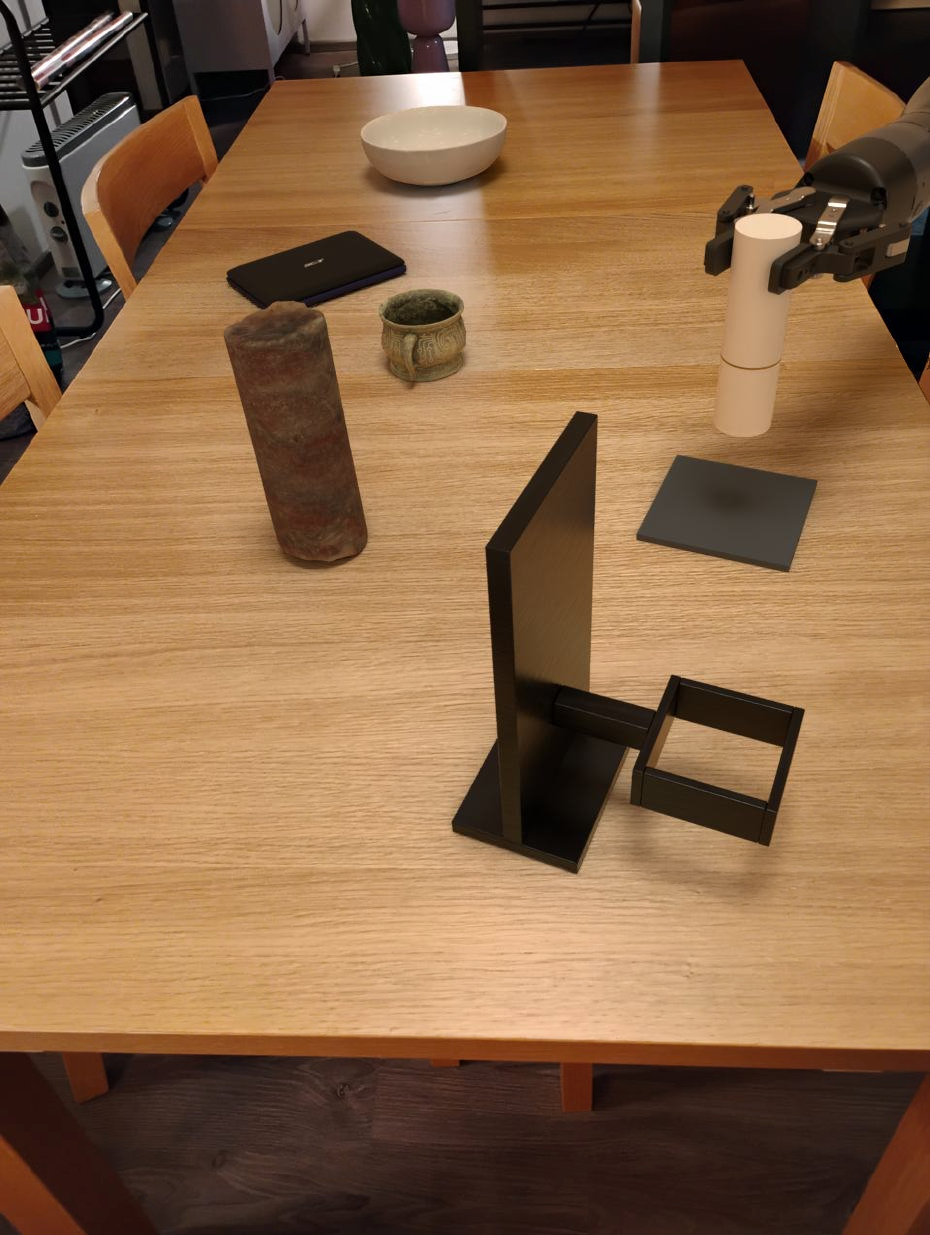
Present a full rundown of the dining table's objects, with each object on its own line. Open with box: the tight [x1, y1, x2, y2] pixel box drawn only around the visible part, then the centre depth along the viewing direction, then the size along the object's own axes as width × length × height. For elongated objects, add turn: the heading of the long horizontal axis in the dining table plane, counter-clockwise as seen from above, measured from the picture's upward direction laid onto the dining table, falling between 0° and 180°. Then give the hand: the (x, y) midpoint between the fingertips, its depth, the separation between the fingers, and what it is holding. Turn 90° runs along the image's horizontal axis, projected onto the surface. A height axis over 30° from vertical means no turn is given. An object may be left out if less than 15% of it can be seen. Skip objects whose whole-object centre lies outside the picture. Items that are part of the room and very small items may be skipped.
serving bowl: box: [359, 104, 508, 187], centre depth 142 cm, size 21×21×7 cm
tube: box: [712, 213, 802, 438], centre depth 71 cm, size 4×4×15 cm
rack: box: [451, 410, 806, 874], centre depth 53 cm, size 18×12×23 cm
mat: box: [635, 454, 818, 573], centre depth 81 cm, size 12×12×1 cm
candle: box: [223, 301, 368, 562], centre depth 75 cm, size 8×7×20 cm
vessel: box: [378, 288, 467, 383], centre depth 101 cm, size 12×9×6 cm
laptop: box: [225, 230, 407, 310], centre depth 120 cm, size 16×20×2 cm
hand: (742, 270), depth 66 cm, fingers closed on tube, 4 cm apart
